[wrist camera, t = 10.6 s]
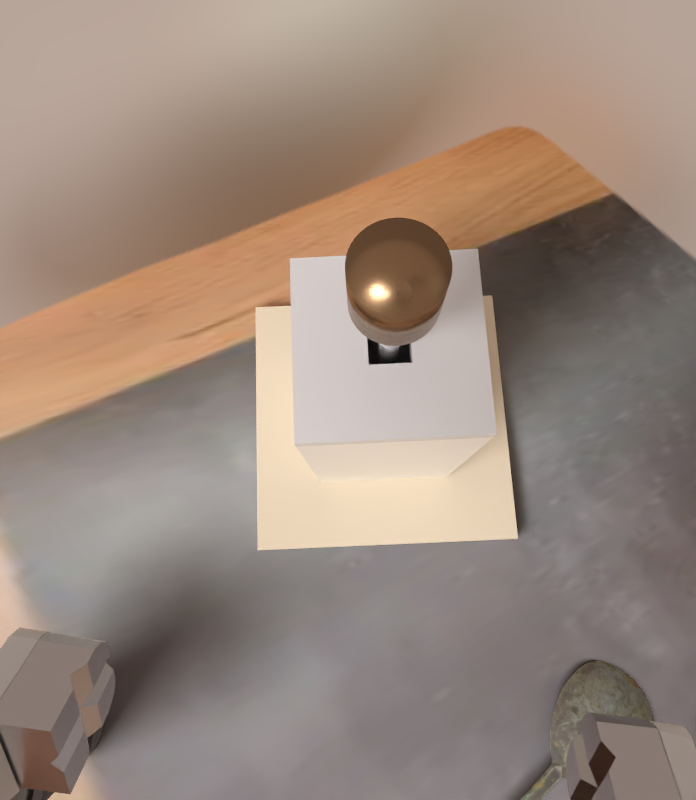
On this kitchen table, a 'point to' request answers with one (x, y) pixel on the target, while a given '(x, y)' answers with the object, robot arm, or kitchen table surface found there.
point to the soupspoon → (581, 694)
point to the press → (379, 422)
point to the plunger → (396, 285)
